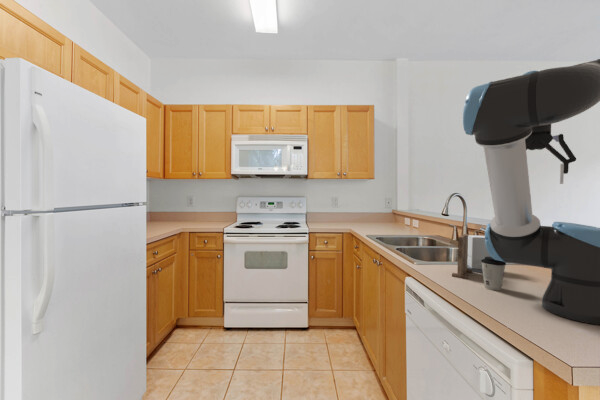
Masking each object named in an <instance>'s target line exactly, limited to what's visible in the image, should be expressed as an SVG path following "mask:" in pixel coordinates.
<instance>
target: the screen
mask: <svg viewBox="0 0 600 400" xmlns="http://www.w3.org/2000/svg"><path fill="white" fill-rule="evenodd" d="M468 235H469V234H468V233H463V234H462V235H459V236H458V239H457V272H456V273H455V272H452V274H451V277H455V278H459V279H466V280H468V277H469V275H468V274H473V273H474V272H473V270H470V269H467V259H468ZM466 273H468V274H466Z"/></svg>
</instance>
